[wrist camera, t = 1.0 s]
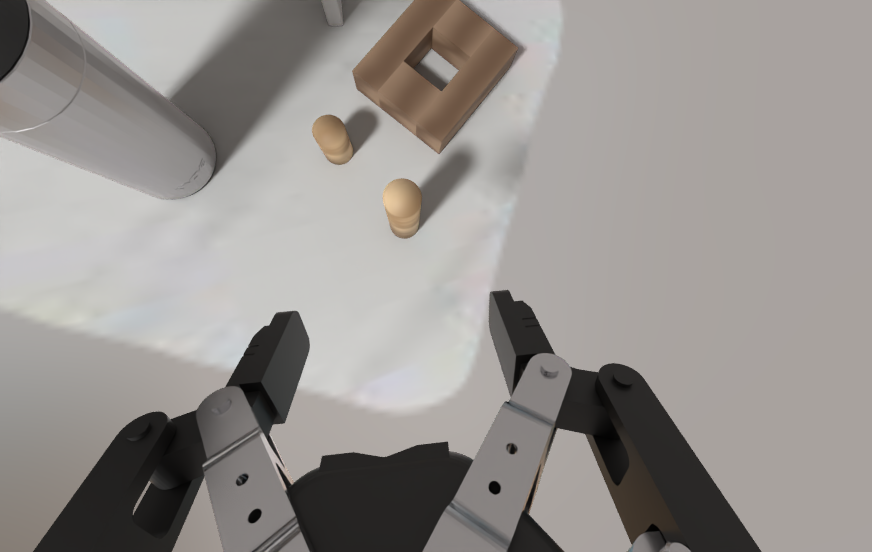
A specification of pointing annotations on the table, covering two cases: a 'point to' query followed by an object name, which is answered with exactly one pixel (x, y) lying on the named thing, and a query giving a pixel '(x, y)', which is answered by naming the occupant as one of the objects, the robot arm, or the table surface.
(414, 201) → the long pin
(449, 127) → the hole plate
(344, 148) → the short pin
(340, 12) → the lighter
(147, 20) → the table surface
